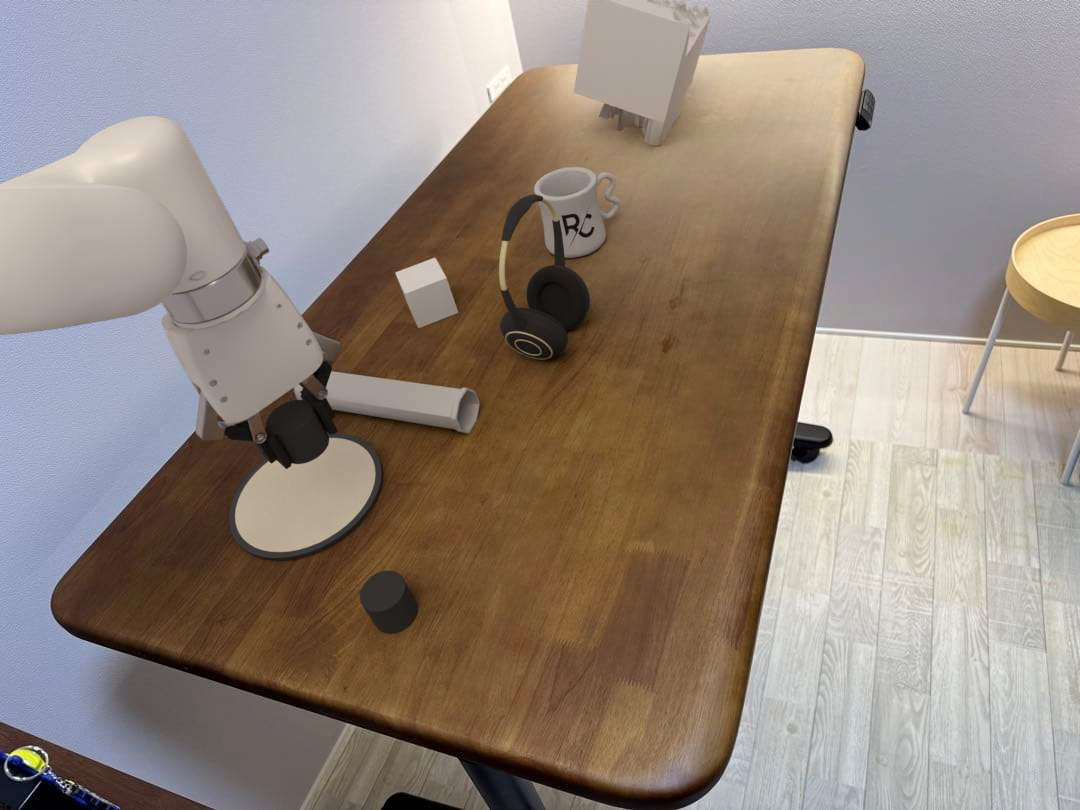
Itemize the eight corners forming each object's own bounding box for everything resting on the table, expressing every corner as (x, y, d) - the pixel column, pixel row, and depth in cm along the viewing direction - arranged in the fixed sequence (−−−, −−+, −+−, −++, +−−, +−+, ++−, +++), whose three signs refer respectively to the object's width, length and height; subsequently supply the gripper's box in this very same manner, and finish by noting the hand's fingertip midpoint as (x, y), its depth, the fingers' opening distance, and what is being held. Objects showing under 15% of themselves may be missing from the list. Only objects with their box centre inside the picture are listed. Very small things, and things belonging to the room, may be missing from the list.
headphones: (497, 373, 98) (454, 237, 84) (546, 302, 106) (515, 168, 93) (558, 384, 94) (524, 244, 80) (604, 309, 103) (580, 171, 89)
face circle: (282, 590, 80) (279, 587, 79) (204, 509, 91) (201, 505, 90) (414, 479, 87) (412, 475, 87) (328, 416, 98) (326, 413, 98)
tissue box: (604, 88, 147) (632, -54, 127) (684, 115, 144) (725, -26, 124) (564, 142, 134) (588, -6, 115) (651, 172, 132) (690, 26, 112)
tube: (278, 394, 97) (451, 421, 87) (296, 357, 99) (466, 379, 89) (303, 413, 101) (469, 441, 91) (319, 377, 103) (484, 401, 93)
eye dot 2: (391, 642, 73) (377, 620, 70) (365, 616, 76) (350, 594, 73) (427, 609, 75) (414, 586, 72) (399, 585, 77) (386, 562, 75)
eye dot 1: (299, 471, 70) (280, 442, 68) (275, 450, 73) (256, 421, 70) (338, 442, 72) (321, 412, 69) (314, 422, 75) (297, 392, 72)
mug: (562, 268, 112) (549, 207, 105) (536, 241, 118) (522, 181, 111) (637, 236, 114) (629, 173, 107) (608, 211, 120) (599, 151, 113)
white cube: (458, 312, 109) (446, 277, 105) (418, 328, 108) (404, 293, 104) (447, 291, 113) (435, 257, 109) (408, 306, 112) (394, 272, 108)
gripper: (278, 218, 66) (355, 377, 78) (90, 327, 59) (208, 482, 71) (324, 242, 61) (398, 406, 73) (127, 363, 54) (246, 522, 67)
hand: (304, 442), depth 72 cm, fingers closed on eye dot 1, 4 cm apart
